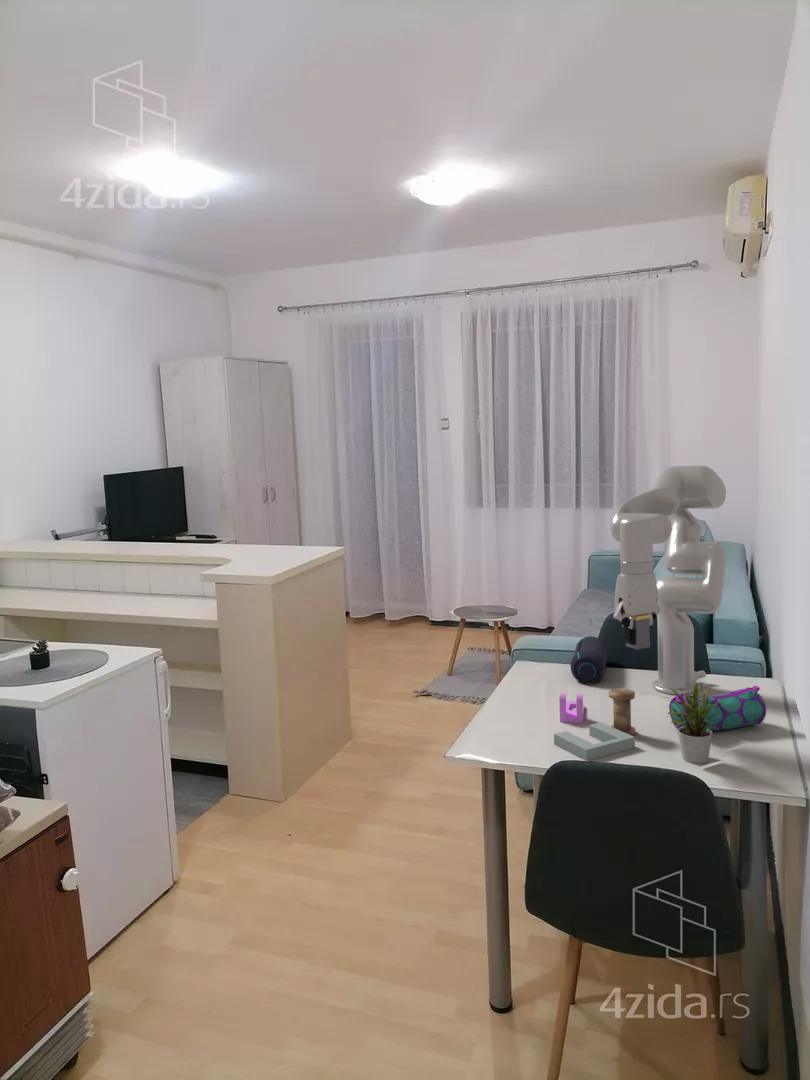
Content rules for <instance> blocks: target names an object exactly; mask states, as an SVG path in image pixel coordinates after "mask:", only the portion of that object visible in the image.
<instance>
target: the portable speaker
mask: <svg viewBox="0 0 810 1080" xmlns="http://www.w3.org/2000/svg"><path fill="white" fill-rule="evenodd" d="M608 653H609V652H608V647H607V645H606V643H605V642H604V641H603V640H602V639H601V638H598V637H596V636H591V635H590V636H584V637H583V638H581V639H580V640H578V642H577V643H576V645H575V649H574V652H573V655H572V658H571V662H570V665H569V666H570V672H571V674H572V676H573V678H574V679H575V680H577V681H578V682H579V683H583V684H588V685H593V684H597V683H599V682H600V681H601V679H603V677H604V675H605V672H606V667H607V660H608Z"/></svg>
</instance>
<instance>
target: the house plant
mask: <svg viewBox="0 0 810 1080" xmlns="http://www.w3.org/2000/svg"><path fill="white" fill-rule="evenodd" d="M697 683H698V682H697V681H696V683H695V686H694V692H693V694H692V695H693V702H692V700H691V698H690V697H689V695H688V694H687V693H686V700H687V703H688V704H687V703H685V702H684V700H683V698H682V697H681V695H679V694H678V693H677V692H676V691H674V690H673V689H671V688H669V689H671V690H672V691H674V692H675V693H676V694H675V696H678V698H679V699H680V701H681V702H682V704H683V705H684V707H685V708H684V707H683V706H682V705H681V704H680V703H679V704H680V705H681V706H682V707H683V708H684V710H685V709H686V710H685V711H686V712H687V714H685V713H684V712H683V711H682V709H681V708H680V707H679V706H678V705H677V704H676V703H675V702H674V703H675V704H676V705H677V706H678V707H679V708H680V710H681V711H682V713H680V712H677V711H676V710H675V709H674V708H672V707H670V706H669V705H668V708H669V707H670V708H672V709H673V710H674V712H673V711H672V712H670V711H669V712H666V714H667V715H668V716H667V715H666V716H667V717H669V718H671V717H672V716H670V714H674V715H677V716H678V717H679V718H680V719H681V720H677V718H676V719H674V720H672V719H671V721H670V723H669V725H671V724H673V723H674V722H677V723H676V727H677V726H679V725H681V724H683V723H684V724H685V725H686V726H685V725H684V724H683V725H684V726H683V727H680V728H679V729H677V728H676V727H675V726H674V727H675V729H677V733H678V739H679V740H678V741H679V745H680V751H681V756H682V759H683V760H684V761H685V762H688V763H690V764H698V765H699V764H705V763H707V762H708V761H709V756H710V752H711V751H710V750H711V745H712V740H713V733H714V731H711V730H710V729H708V727H710V725H708V726H706V725H707V724H708V722H709V719H710V718H711V717H713V716H715V715H717V714H722V713H716V714H713V715H712V716H710V717H709V718H708V719H706V720H705V722H704V723H703V721H704V719H705V718H706V716H707V714H708V713H709V711H710V710H711V709H712V708H713V707H714V706H715V705H716V704H717V703H718V702H719V701H718V702H717V703H716V704H715V705H712V706H710V707H708V708H707V709H706V707H707V704H708V701H709V696H711V695H710V692H708V693H707V691H706V689H703V686H700V688H699V689H698V686H697ZM664 687H665V686H664ZM667 688H668V687H667ZM701 689H703V690H704V691H703V693H702V696H701V697H702V702H701V705H700V708H698V698H699V697H700V692H701ZM706 696H707V697H706ZM705 697H706V699H705ZM662 698H664V699H665V698H666V699H667V700H666V701H667V702H669V700H668V699H670V700H672V698H670V697H667V696H666V697H665V696H662ZM721 700H722V699H721ZM674 701H675V700H674ZM704 701H705V703H704ZM672 702H673V701H672ZM676 702H677V701H676ZM703 705H704V706H703ZM723 715H724V714H723ZM682 717H683V718H684V719H685V720H686V719H687V720H686V721H684V720H683V719H682ZM674 718H675V717H674ZM688 719H689V720H690V721H691V723H690V722H689V720H688ZM686 722H687V723H686ZM702 723H703V725H702ZM701 725H702V726H701ZM713 726H714V727H715V728H716V726H715V725H713Z"/></svg>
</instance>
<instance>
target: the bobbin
mask: <svg viewBox="0 0 810 1080" xmlns="http://www.w3.org/2000/svg"><path fill="white" fill-rule="evenodd" d="M608 698H609V699H612V701H613V703H612V705H613V707H612V708H613V713H612V714H613V725H609V726H610V727H613V728H615V729H617V730H620V731H622V732H624V733H627V734H629V735H631V736H634V737H635V735H636V728H635V727H634V726H632V712H631V710H632V707H631V705H632V704H631V703H632V700H634V699H635V698H636V692H635V691H634V690H632V689H628V688H612V689H610V690H608Z"/></svg>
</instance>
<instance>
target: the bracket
mask: <svg viewBox="0 0 810 1080" xmlns="http://www.w3.org/2000/svg"><path fill="white" fill-rule="evenodd" d="M566 694H567V693H561V692H560V693H559V722H560V723H577V724H578V723H579V724H583V723H584V712H585V704H584V697H583V695H584V694H583V693H581V694H580V693H576V701H567V695H566ZM570 708H575V710H570Z"/></svg>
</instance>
